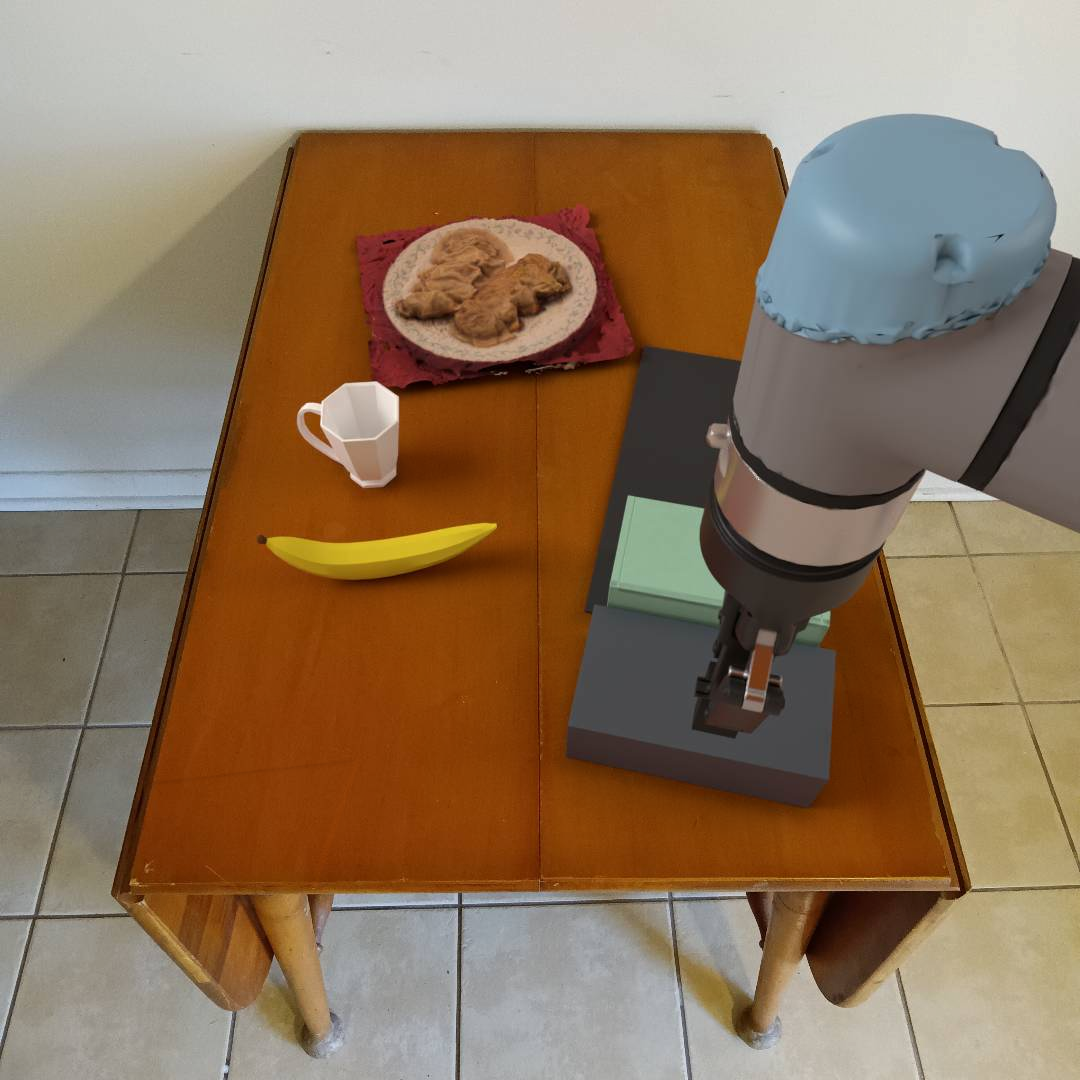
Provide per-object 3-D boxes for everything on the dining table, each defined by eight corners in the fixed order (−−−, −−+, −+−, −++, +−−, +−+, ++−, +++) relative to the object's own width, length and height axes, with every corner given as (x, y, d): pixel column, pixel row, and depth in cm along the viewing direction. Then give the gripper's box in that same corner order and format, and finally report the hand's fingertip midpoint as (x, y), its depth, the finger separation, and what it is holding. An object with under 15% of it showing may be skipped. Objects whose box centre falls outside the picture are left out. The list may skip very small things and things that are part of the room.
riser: (816, 685, 74) (836, 650, 69) (808, 808, 69) (829, 780, 64) (590, 640, 77) (594, 604, 72) (565, 756, 71) (567, 725, 66)
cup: (394, 509, 84) (382, 451, 77) (291, 481, 85) (270, 422, 79) (424, 450, 88) (414, 390, 81) (324, 424, 89) (307, 363, 82)
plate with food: (635, 366, 94) (639, 340, 91) (374, 396, 91) (369, 370, 88) (585, 216, 107) (587, 189, 104) (356, 237, 104) (351, 210, 101)
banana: (501, 572, 80) (499, 529, 75) (274, 595, 79) (255, 553, 74) (498, 543, 82) (495, 500, 77) (275, 565, 81) (257, 523, 75)
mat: (784, 369, 93) (785, 367, 93) (755, 645, 76) (755, 643, 76) (643, 347, 95) (644, 345, 95) (584, 612, 78) (584, 610, 78)
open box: (803, 675, 75) (809, 584, 79) (829, 626, 68) (834, 530, 73) (603, 637, 76) (620, 550, 81) (609, 586, 70) (628, 494, 74)
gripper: (729, 369, 43) (670, 621, 63) (688, 613, 36) (636, 810, 56) (898, 397, 42) (784, 644, 62) (889, 653, 35) (764, 840, 55)
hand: (714, 722), depth 59 cm, fingers closed
